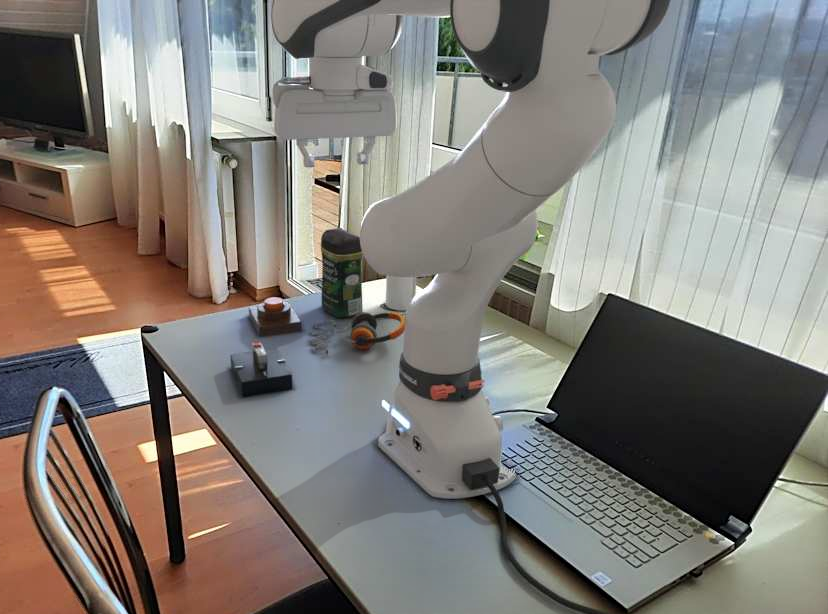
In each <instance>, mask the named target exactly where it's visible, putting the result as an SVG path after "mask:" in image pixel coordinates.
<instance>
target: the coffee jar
mask: <svg viewBox="0 0 828 614" xmlns="http://www.w3.org/2000/svg"><path fill="white" fill-rule="evenodd" d="M320 251H321V262H322V263H321V265H322V266H321V267H322V269H321V270H322V271H321V275H322V276H321V308H322V309H323V310H324V311H325V312H326V313H328V314H329V315H331V316H333V317H335V318H339V319H341V318H343V319H344V318H345V319H346V318H347V319H349V318H354V317H355V316H356V315H357V314H359V313H363V312H362V311H363V287H362V286H363V285H362V284H363V283H362V282H363V280H362V278H363V277H362V265H363V264H362V263H363V257H364V255H363V252H362V249H361V245H360V235H357V234H355V233H353V232H352V231H351V232H350V231H349V230H346V229H343V228H342V227H336V228H330V229H326V230H324V231H323V233H322V234H321V239H320Z"/></svg>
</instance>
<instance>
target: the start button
mask: <svg viewBox="0 0 828 614" xmlns="http://www.w3.org/2000/svg"><path fill="white" fill-rule="evenodd" d="M283 301H284V299H283V298H281V297H276V296H272V297H267V298H265V299H264V301H263V302H264V306H265V310H268V311H278V310H281V309H283Z"/></svg>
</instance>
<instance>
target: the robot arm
mask: <svg viewBox="0 0 828 614" xmlns="http://www.w3.org/2000/svg"><path fill="white" fill-rule="evenodd" d="M670 3H671V0H273V1H272V3H271V12H270V13H271V14H270V16H271V18H270V19H271V29H272V32H273V36H274V38H275V39H276V41H277V43H278V44H279V45H280V47H282V48H283V50H284V51H285V52H286V53H287V54H288V55H290V56H291V57H292V58H293V59H294V60H305V59H307V63H308V64H307V71H308V72H307V73H308V74H307V75H308V76H293V77H290V76H283V77H281V78H280V79H279V80H277V81H276V82H275V83H274V84H273V86H272V89H271V90H272V91H271V92H272V102H273V104H274V106H275V107H274V108H275V109H274V120H273V121H274V123H273V129H274V133H275V135H276V136H277V137H278V138H279V139H281V140H283V141H294V140H295V143H296V146H297V148H298V150H299V151H300V153H301V155H302V156H303V157H302V158H303V159H302V160H303V167H304V168H315V166H316V163H315V159H316V157H315V156H314V155H313V154H309V152H308V150H307V149H306V147H308V146H309V140H318V139H319V140H320V139H321V140H323V139H346V138H347V139H348V138H362V141H363V142H364V143H365V144H364V146H363V148H362V149H361V152H360V151H359V152H356V157H357V158H356V163H357V164H358V165H359V166H361V165H363V166H364V165H369V155H370V154H371V152H372V150H373V148H374V146H375V145H376V137H392V136H393V135H394V133H395V132H396V130H397V126H398V125H397V124H398V123H397V122H398V121H397V120H398V118H397V102H396V97H395V95H394V93H393V91H391V89H392V88H393V85H394V77H393V76H392V75H391V74H388V73H386V72H384V71H380V70H378V69H376V68H375V67H372V66H366V65H365V57H376V56H381V55H386V54H388V53H389V52H390V51H391V50H392V49H393V47H394V46H395V45H396V44H397V42H398V40H399V39H400V36H401V33H402V28H403V18H404V17H415V18H431V19H432V18H433V19H438V18H441V19H442V18H450V24H451V29H452V33H453V37H454V38H455V40H456V42H457V44H458V46H459V47H460V49H461V51H462V52H463V54H464V56H465V57H466V59H467V61H468V62H469V64H470V65H471V66H472V67H473V68H474V69H475V70H477V71H478V72H479V73H480V77H481V79H482V80H483V82H484V83H485V84H486V85H487V86H489V87H490V88H492V89H494V90H495V91H499V92H502V93H506V94H505V96H504V98H503V99H502V101H501V102H500V103H499V105H498V106H497V107H496V108H495V110H494V111H493V112H492V113H491V114H490V116H489V117H487V120H486V121H485V122H484V123H483V124H482V125H481V127H480V128H479V130H478V131H476V133H475V135H473V137H472V138H471V139H470V140H469V142H468V143H466V145H465V146H464V147H463V148H462V149H461V150H460V152H459V153H458V154H457V155H456V156H454V157H453V158H452V159H451V160H449V161H448V162H447V163H445V164H444V165H442V166H441V167H439V168H438V169H436V170H435V171H433V172H432V173H430V174H429V175H427V176H425V177H424V178H422V179H421V180H419V181H418V182H416V183H415V184H413V185H412V186H409V187H408V188H407V189H404V190H403V191H400V192H399V193H396V194H395V195H392V196H389V197H387V198H385V199H382V200H379V201H377V202H374V203H373V204H371V205H370V206H369V208H368V209H367V210H366V212H365V214H364V216H363V218H362V221H361V224H360V229H359V237H360V245H361V249H362V252H363V257H364V259H365V261H366V262H367V264H368V265H369V266H370V267H371V268H372V270H373V271H375V272H376V274H378V275H380V276H386V277H387V276H397V277H416V278H419V277H426V276H427V277H428V276H433V275H435V276H434V278H433V279H432V281H431V282H429V284H428V285H427V286H426V287H425V288H424V289H423V290H421V291H420V292H419V293H417V294H415V297H414V298H413V299H412V300H411V302H410V303H409V305H408V308H407V310H405V316H404V319H405V331H404V332H403V335H404V336H403V350H402V351H401V353H400V358H399V362H398V370H399V371H398V378H399V382H398V385H397V387H396V388H395V390H394V391H393V393H392V394H391V396H390V399H389V403H388V402H387V401H386V400H385V399H383V400H382V401H381V406H382V407H383V408H384V409H385V410H386V411H387V419H386V420H387V421H386V428H385V432H384V433H383V434H381V435H379V437H378V440H377V441H378V442H377V446H378V448H379V449H380V450H381V451H382V452H383V453H384V454H385V455H387V456H388V457H389V458H390V459H391V460H392V461H393V462H394V463H395V464H396V465H397V466H398V467H399V468H401V470H403V471H404V473H406V474H407V476H409V477H410V478H411V479H412V480H413V481H414V482H415V483H416V484H417V485H418V486H419V487H420V488H422V489H423V490H424V491H425V492H426V493H427V494H428V495H429V496H431V497H433V498H439V499H454V500H456V499H457V500H458V499H466V498H473V497H478V496H482V495H486V494H490V493H491V494H492V495H493V498H494V499H495V502H496V505H497V510H498V511H497V512H498V516H499V523H500V539H501V541H500V542H501V546H502V549H503V551H504V554H505V556H506V557H507V559H508V561H509V562H510V564H511V565H512V567H513V568H514V569H515V571H516V572H517V573H518V574H519V575H520V576H521V577H522V578H523V579H524V580H525V581H526V582H528V583H529V584H530V585H532V586H533V587H534V588H535V589H536V590H538V591H539V592H541V593H542V594H543V595H545V596H547V597H548V598H550V599H551V600H553V601H554V602H555V603H557V604H560V605H562V606H563V607H566V608H569V609H570V610H574V611H577V612H580V613H582V614H609V612H606V611H603V610H600V609H597V608H592V607H589V606H585V605H583V604H580V603H577V602H574V601H571V600H568V599H567V598H564V597H562V596H560V595H559V594H557V593H555V592H554V591H552V589H549V588H547V587H546V586H545V585H543V584H542V583H541V582H539V581H538V580H537V579H535V578H534V577H533V576H532V575H530V574H529V573H528V572H527V571H526V570H525V569H524V567H522V565H521V564H520V563H519V562H518V561H517V559H516V558H515V556H514V555H513V553H512V551H511V549H510V547H509V543H508V529H507V528H508V527H507V518H506V514H505V513H506V512H505V508H504V503H503V500H502V497H501V495H500V493H499V490H501V489H503V488H505V487H507V486H509V485H510V484H511V483H513V482H514V481H515V479H516V478H517V472H516V473H515V470H516V469H515V470H514V471H513V469H511V471H510V469H509V472H508V469H507V470H506V471H505V469H506V467H505V468H504V469H503V467H501V455H502V448H503V439H502V434H501V432H502V431H503V429H504V421H503V418H502V417H501V416H500V415H494V416H493V413H492V411H491V408H490V399H489V396H488V397H487V396H485V395H484V392H483V390H482V388H484V387H485V386H484V384H483V383H485V379H483V378H482V374H483V373H482V367H481V362H480V358H479V350H480V343H481V335H482V329H483V324H484V318H485V315H486V312H487V308H488V306H489V304H490V301H491V300H492V297H493V295H494V293H495V291H496V289H498V286H499V285H500V283H501V282H502V280H503V278H504V277H505V276H506V274H507V273H508V272H509V270H510V269H511V268H512V267H513V266H514V265H515V264H516V263H517V262H518V261H519V260H520V259H522V258H523V257H524V256H525V255H526V254H528V253H529V251H530V250H531V249H532V247H533V245H534V244H535V241H536V239H537V235H538V229H539V219H538V214H537V210H538V209H539V208H541V206H543V205H544V204H545V203H546V202H547V201H548V200H550V199H551V198H552V197H553V196H554V195H555V194H556V193H557V192H559V191H560V190H561V189H562V188H563V187H565V186H566V185H567V184H568V183H569V182H570V181H571V180H572V179H573V178H574V177H575V176H576V175H577V174H578V172H580V171H581V169H583V167H584V166H585V165H586V164H587V163H588V161H589V160H590V159H591V158H592V157H593V156H594V154H595V153H596V151H598V149H599V148H600V146H601V145H602V143H603V142H604V141H605V140H606V137H607V136H608V135H609V133H610V132H611V130H612V128H613V126H614V124H615V123H614V122H615V119H616V115H617V102H616V101H617V100H616V96H615V92H614V90H613V88H612V86H611V84H610V83H609V81H608V80H607V78H606V77H605V75H603V74H602V72H600V66H599V63H600V61H599V59H600V57H601V56H613V55H617V54H620V53H622V52H625V51H627V50H629V49H632V48H633V47H635V46H637V45H638V44H641V43H642V42H643V41H645V40H647V38H649V37H650V36H651V35H652V34H653V33H654V32H655V31H656V30H657V29H658V28H659V26H660V24H661V23H662V21H663V20H664V18H665V16H666V14H667V12H668V9H669V6H670ZM504 85H506V86H504ZM504 463H507V462H504ZM512 471H513V473H512ZM507 472H508V473H507ZM514 473H515V474H514ZM509 474H510V475H509ZM513 475H514V476H513ZM512 476H513V477H512ZM511 477H512V478H511ZM507 480H508V481H507ZM484 488H485V489H484ZM486 488H487V489H486ZM478 490H479V491H478Z"/></svg>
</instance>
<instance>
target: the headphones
mask: <svg viewBox="0 0 828 614" xmlns="http://www.w3.org/2000/svg"><path fill="white" fill-rule="evenodd" d="M379 319H390V320H395V321H397V322H399V323H400V324H399V325H398V327H397V328H395V329H394V330H392V331H390V332H389V333H388V334H385V335H382V336H378V332H377V328H378V322H377V320H379ZM325 322H333V324H334V325H333V332H334V334H335V335H336V336H337V337H338V338H339V339H344V340H346V341H347V342H350V343H352V344H353V345H354V347H356V348H358V349H359V350H367V349H370V348H372V347H374V345H375V344H378V343H379V344H380V343H384V342H387V341H391V340H392V341H393V340H396V339H397V338H399V337H400V336H401V335H402V334H404V332H405V316H403V314H401V313H399V312H397V311H389V312H379V313H376V314H372V313H370V312H364V311H363V312H361V313H359V314H357V315H356V316H353V319H352V320H351V324H349V325H347V326H346V327H344V328H343V329H341V330H339V329H337V324H336V322H335V320H333V319H326V320H323V321H320V322H318V323H317V324H315V328H317V329H322V330H319V331H315V332H312V333H311V334H310V335H311V336H316V335H317V338H314V339H311V340H310V342H311V343H310V344H311V345H313V346H314V345H315V346H314V348H313V349H312V350H313V352H323V351H325V356H326V357H328V354H329V350H328V349H326V348H324V347H327V346H329V345H328V344H331V343H332V340H323V339H327V338H328V336H329V335H331V331H325V330H326V328H325V327H322V326H318V325H320V324H322V323H325ZM350 326H351V332H350V338H351V340H350V339H349V338H347V337H343V336H341V335H339V334H337V332H344V331H346V330H347V328H349V327H350ZM318 348H324V349H318ZM316 349H317V350H316Z"/></svg>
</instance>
